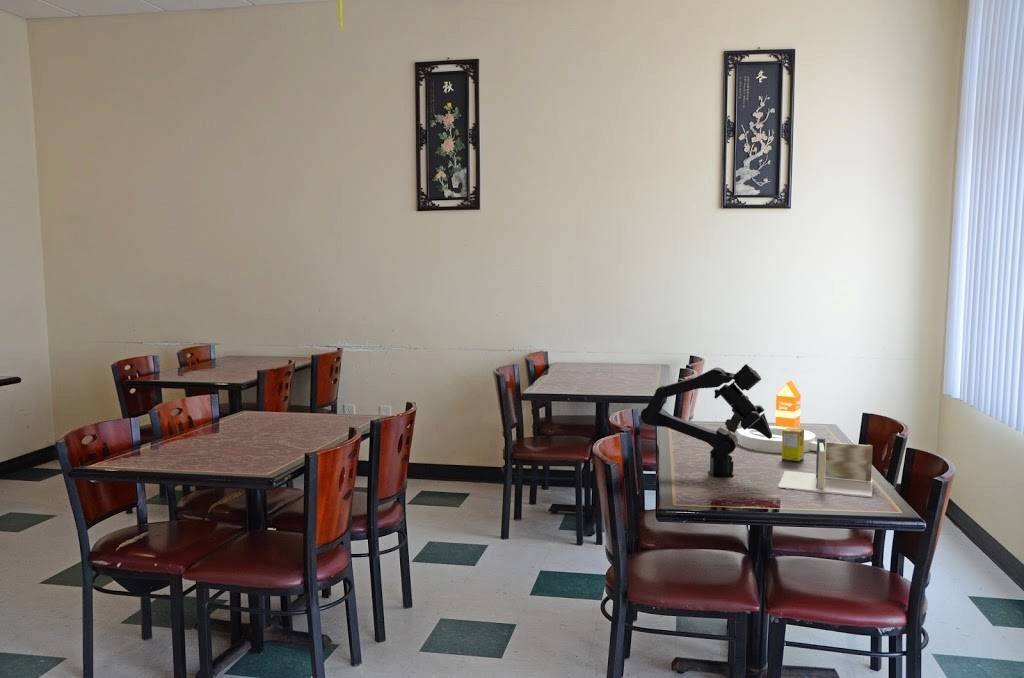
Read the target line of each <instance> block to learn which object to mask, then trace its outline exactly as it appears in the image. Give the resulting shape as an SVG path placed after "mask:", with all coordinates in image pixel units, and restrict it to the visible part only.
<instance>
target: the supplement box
mask: <svg viewBox="0 0 1024 678" xmlns="http://www.w3.org/2000/svg"><path fill="white" fill-rule="evenodd" d="M804 430H805V429H803V428H802V429H801V428H799V429H795V428H786V429H784V430H783V433H782V453H781V462H790V463H798V464H799V463H801V462H803V461H804V459H805V458H804V457H805V456H804V453H805V452H804Z"/></svg>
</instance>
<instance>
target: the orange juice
mask: <svg viewBox="0 0 1024 678" xmlns="http://www.w3.org/2000/svg"><path fill="white" fill-rule="evenodd" d="M775 396H776V398H775V399H776V400H775V425H774V426H781V427H791V428H797V429H801V428H800V427H801V425H800V422H801V421H800V420H801V392H800V391H799V390H798V388H797V387H796V385H795V384H794V382H793V380H790V381H787V382H786V383H785V384H784V385H783V386H782V387H781V389H780V390H779V391H778V392H777V394H776V395H775Z"/></svg>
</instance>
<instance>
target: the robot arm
mask: <svg viewBox="0 0 1024 678" xmlns="http://www.w3.org/2000/svg"><path fill="white" fill-rule="evenodd" d="M733 380H734V381H733ZM761 380H762V377H761V376H760V374H759V373H758V372H757V370H754V369H753V367H750V366H749V364H747V363H746V364H743V366H741V369H739V370H738V371H736V373H733V372H728V371H725V370H724V368H721V367H714V368H712V369H710V370H708V371H706V372H703V373H702V374H699V375H697V376H694V377H692V378H688V379H685V380H684V379H683V380H681V381H678V382H674V383H671V384H667V385H661V386H659V387H657V388H656V390H655V392H654V394H653V396H652V398H650V401H649V402H648V405H647V406H645V408H643V409H642V411H641V412H640V420H641V422H642V423H644V424H645V425H649V426H653V427H660V428H668V429H671V430H673V431H675V432H678V433H681V434H683V435H686V436H688V437H691V438H694V439H696V440H699V441H703V442H705V443H707V444H708V445H709V446H711V447H712V449H711V450H710V452H709V453H710V455H709V470H708V471H707V473H709V475H711V476H712V475H713V477H714V476H715V477H716V478H722V476H731V477H734V476H735V475H734V460H733V457H732V455H731V454H732V453H733V452H734V451H735V449H737V447H738V445H739V444H738V437H736V436H735V435H734V434H732V432H733V433H735V432H736V430H737V429H739V425H740V427H741V428H743V429H744V430H746V429H755V430H757V431H758V432H760V433H761V434H763V435H764V436H766V437H767V438H768V439H770V438H771V437H772V433H771V430H770V428H769V426H770V425H769V422H768V420H767V417H766V414H765V408H764V407H763V406H762V405H759V404H758V405H757V404H756V405H754V403H753V402H752V401H751V400H750V398H749V396H748V395H745V394H744V393H743V392H742V391H747V392H748V391H749V390H750V389H752V388H753V387H755V385H757V384H758V383H759V382H760V381H761ZM731 381H733V382H731ZM730 382H731V383H730ZM729 383H730V384H729ZM723 384H724V385H723ZM728 384H729V385H728ZM722 385H723V386H722ZM720 386H721V387H720ZM719 387H720V388H719ZM712 388H713V389H714V388H716V389H715V390H714V399H715V400H717V398H719V397H720V396H721V397H722V399H723V400H724V401H725V402H726V403H727V404H728V405H729V406H730V408H731V412H732V413H733V415H732V416H731V418H727V419H726V420H725V422H724V425H725V426H726V427H725V429H724V428H723V427H718V428H717V430H713V429H709V428H707V427H704V426H701V425H699V424H696V423H693V422H690V421H687V420H686V419H685V420H684V419H682V418H679V417H677V416H674V415H672V414H670V412H668V411H667V410H666V409H664V408H663V407H664V405H665V402H666V400H667V398H669V397H674V396H677V395H681V394H683V393H687V392H691V391H694V390H699V389H712ZM717 388H719V389H717ZM763 412H764V413H763ZM761 413H762V414H761ZM760 414H761V415H760ZM715 477H714V478H715Z"/></svg>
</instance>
